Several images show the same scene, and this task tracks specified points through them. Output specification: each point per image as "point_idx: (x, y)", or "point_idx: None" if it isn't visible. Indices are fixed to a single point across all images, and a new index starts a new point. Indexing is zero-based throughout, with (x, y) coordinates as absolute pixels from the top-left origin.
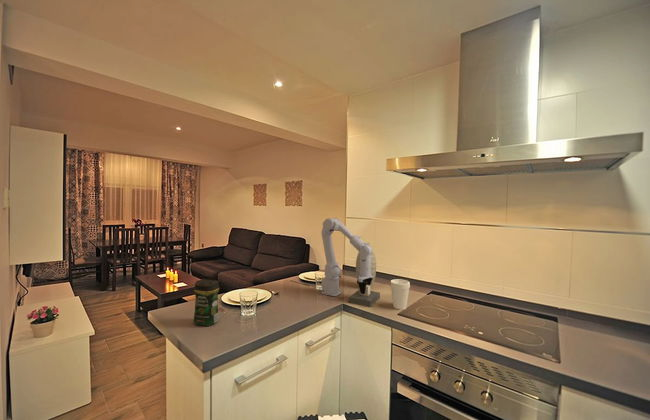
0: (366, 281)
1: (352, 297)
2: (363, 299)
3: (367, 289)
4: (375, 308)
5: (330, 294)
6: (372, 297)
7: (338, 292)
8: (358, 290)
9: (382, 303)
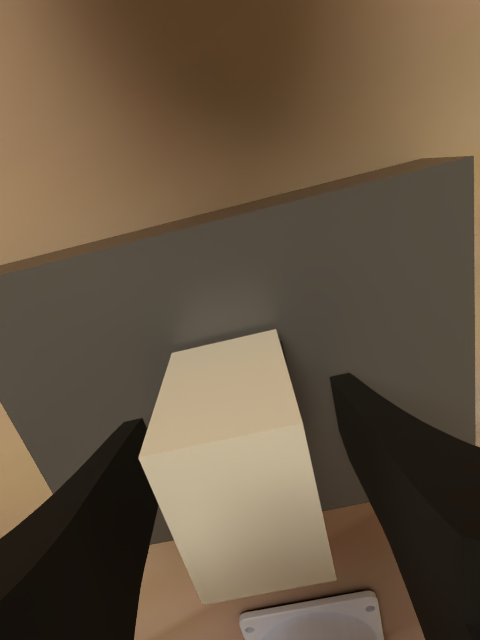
0: (100, 631)
1: (469, 440)
2: (459, 289)
3: (293, 397)
4: (426, 57)
5: (375, 634)
6: (269, 239)
7: (296, 626)
8: (158, 538)
9: (157, 99)
